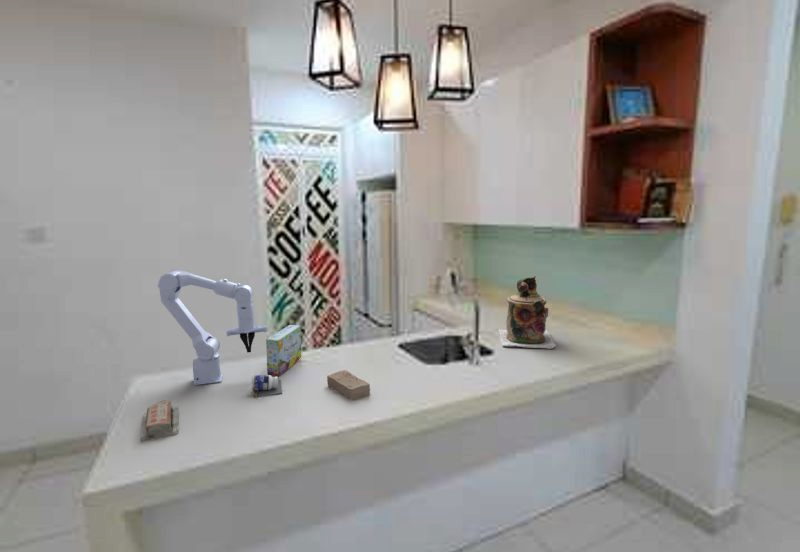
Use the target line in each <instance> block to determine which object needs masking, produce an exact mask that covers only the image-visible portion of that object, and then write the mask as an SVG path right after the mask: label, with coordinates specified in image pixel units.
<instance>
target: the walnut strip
mask: <svg viewBox="0 0 800 552" xmlns="http://www.w3.org/2000/svg"><path fill="white" fill-rule="evenodd" d="M253 398H258V390H253Z"/></svg>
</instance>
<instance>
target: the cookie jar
mask: <svg viewBox="0 0 800 552" xmlns="http://www.w3.org/2000/svg"><path fill="white" fill-rule="evenodd" d="M536 276H537V275H536V274H534V276H532V277H531V276H530V277H528V276H527V277H523V278H520V279H519V280H518V281H517V282H516V288H517V291H518V292H516V293H515V294H514V295H512V294H511V295H510V296H508V297H507V299H506V300H507V303H508V307H507V308H508V309H507V314H506V320H505V323H506V326H505V327H506V329H498V333H499V339H500V340H499V341H500V345H501V347H520V348H521V347H522V348H531V349H532V348H533V349H548V350H551V349H553V348H555V347H556V346H557V345H556V342H554V340H553V339H552V337H551V335H550V333H549V330H547V329H546V326H547V325H546V322H547V318H548V317H549V308H548V307H545V305H546V304H547V299H546V298H545V297H542V296H541V295H540V294H538V291H537V285H538V284H537V280H536Z"/></svg>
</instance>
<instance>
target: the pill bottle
mask: <svg viewBox="0 0 800 552" xmlns="http://www.w3.org/2000/svg"><path fill="white" fill-rule="evenodd" d="M278 380H279V377H274V376H271V375H267V374H263V375H261V374H260V375H259V374H254V375H251V391H254V390H257V391H259V390H270V389H271V388H272V387H273V388H277V387H278Z"/></svg>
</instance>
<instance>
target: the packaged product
mask: <svg viewBox="0 0 800 552" xmlns="http://www.w3.org/2000/svg"><path fill="white" fill-rule="evenodd" d="M179 412H180V411H179V405H174V406H172V402H171V400H162V401H160V402H157V403H155V404H152V405H150V406H148V407H147V409H146V412H144V415H143V420H142V428H141V434H140V442H141V443H142V442H147V441H151V440H155V439H162V438H165V437H166V438H167V437H172V436H175V435H178V434H179V431H180V428H179V425H180V424H179V423H180V413H179Z"/></svg>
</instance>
